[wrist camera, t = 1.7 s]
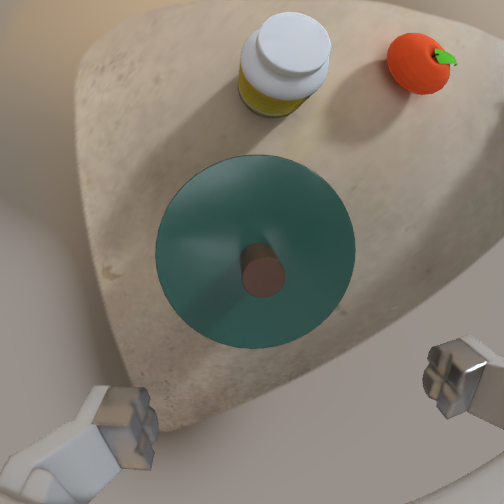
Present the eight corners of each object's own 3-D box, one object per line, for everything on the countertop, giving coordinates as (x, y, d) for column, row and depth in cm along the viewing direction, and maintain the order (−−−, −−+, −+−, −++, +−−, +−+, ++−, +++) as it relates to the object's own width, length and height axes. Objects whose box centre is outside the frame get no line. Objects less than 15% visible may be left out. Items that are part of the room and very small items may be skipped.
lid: (346, 151, 20) (375, 147, 15) (346, 328, 23) (369, 360, 19) (148, 167, 19) (125, 166, 15) (176, 347, 23) (166, 383, 18)
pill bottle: (281, 131, 28) (312, 107, 16) (224, 95, 26) (220, 50, 15) (316, 82, 27) (361, 39, 15) (261, 47, 25) (279, -13, 14)
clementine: (424, 48, 26) (459, 31, 19) (438, 101, 27) (477, 91, 21) (369, 42, 25) (399, 18, 19) (383, 99, 27) (419, 85, 20)
